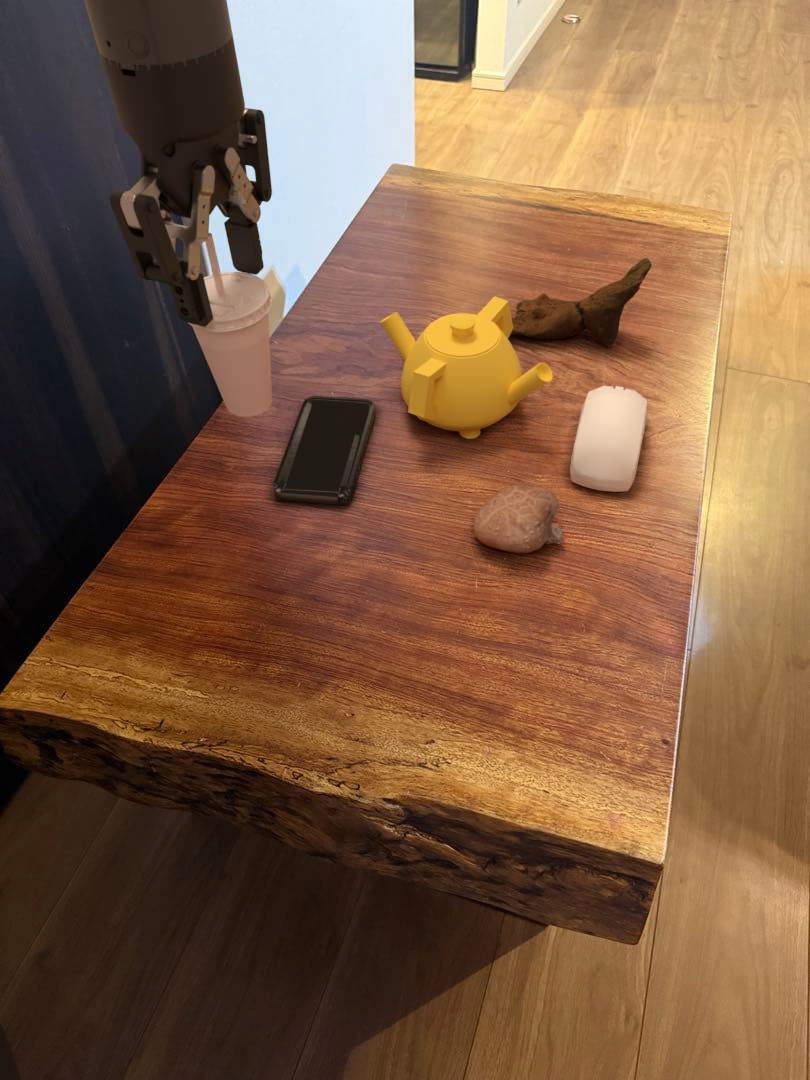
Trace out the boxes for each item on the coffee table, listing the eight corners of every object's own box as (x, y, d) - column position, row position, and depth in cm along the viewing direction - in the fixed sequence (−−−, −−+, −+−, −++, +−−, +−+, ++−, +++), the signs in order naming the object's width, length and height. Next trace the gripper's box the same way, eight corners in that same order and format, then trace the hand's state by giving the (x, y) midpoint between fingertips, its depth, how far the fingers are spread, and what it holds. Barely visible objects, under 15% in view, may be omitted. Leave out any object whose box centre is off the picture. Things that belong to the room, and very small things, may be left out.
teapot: (582, 394, 92) (595, 305, 83) (500, 493, 82) (505, 403, 74) (429, 339, 100) (427, 252, 91) (338, 423, 90) (326, 335, 82)
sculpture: (640, 269, 87) (506, 244, 92) (619, 365, 93) (494, 336, 98) (658, 255, 93) (531, 232, 99) (637, 346, 99) (518, 319, 104)
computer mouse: (646, 415, 89) (656, 367, 84) (631, 500, 81) (642, 451, 76) (584, 406, 90) (592, 358, 86) (564, 488, 82) (570, 440, 77)
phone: (270, 491, 82) (305, 394, 92) (272, 499, 83) (307, 403, 92) (349, 498, 81) (377, 399, 90) (350, 506, 81) (377, 407, 91)
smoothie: (261, 366, 70) (228, 205, 59) (305, 403, 66) (278, 239, 56) (193, 399, 67) (147, 236, 57) (235, 439, 64) (194, 274, 53)
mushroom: (577, 514, 80) (504, 472, 81) (587, 499, 74) (508, 454, 75) (537, 582, 79) (463, 538, 80) (542, 573, 73) (463, 526, 74)
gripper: (180, -12, 52) (232, 237, 65) (26, 73, 44) (120, 341, 57) (285, -1, 50) (318, 254, 63) (144, 90, 42) (215, 365, 54)
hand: (224, 294), depth 60 cm, fingers closed on smoothie, 6 cm apart
